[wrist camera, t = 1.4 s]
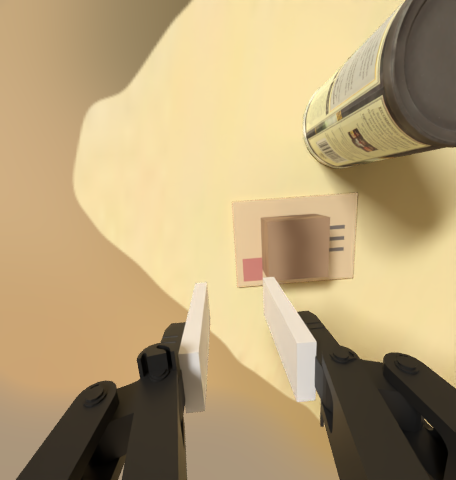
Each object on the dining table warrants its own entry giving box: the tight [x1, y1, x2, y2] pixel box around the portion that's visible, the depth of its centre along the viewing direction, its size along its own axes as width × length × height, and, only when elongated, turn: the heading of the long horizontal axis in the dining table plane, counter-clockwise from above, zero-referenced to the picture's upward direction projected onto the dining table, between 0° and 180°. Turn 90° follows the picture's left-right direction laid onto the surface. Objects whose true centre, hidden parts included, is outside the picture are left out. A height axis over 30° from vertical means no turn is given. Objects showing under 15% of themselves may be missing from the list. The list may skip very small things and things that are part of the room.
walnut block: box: [261, 214, 330, 281], centre depth 27 cm, size 7×7×4 cm
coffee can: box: [303, 0, 456, 168], centre depth 20 cm, size 10×10×14 cm
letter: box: [232, 193, 358, 287], centre depth 29 cm, size 16×12×1 cm
